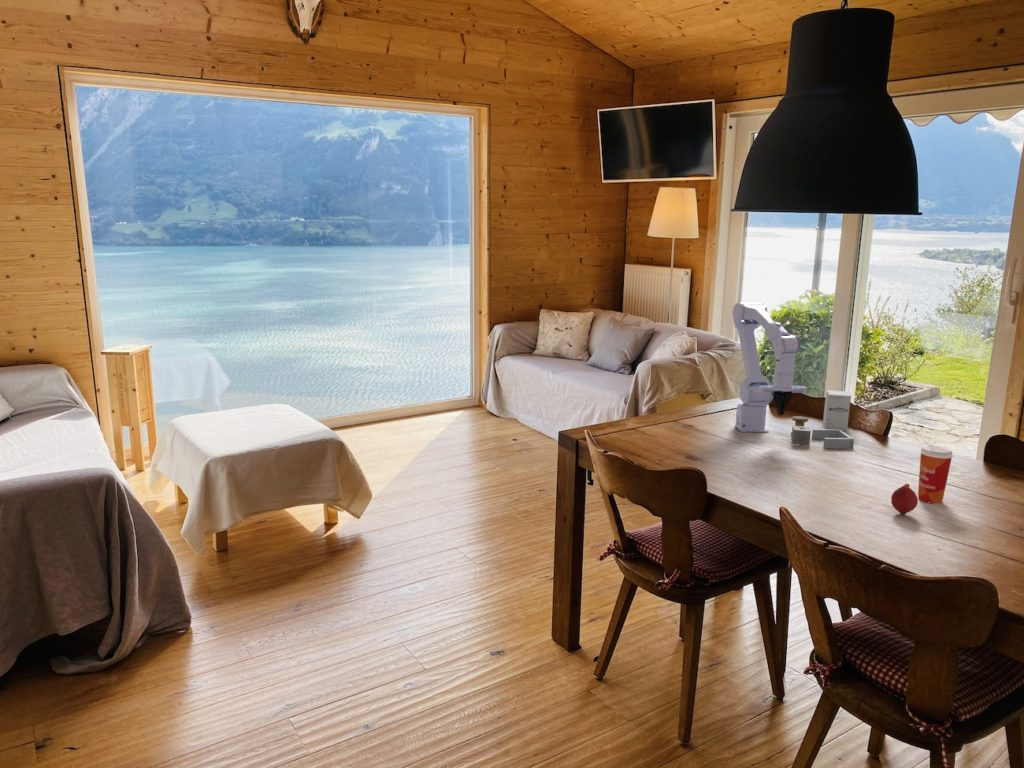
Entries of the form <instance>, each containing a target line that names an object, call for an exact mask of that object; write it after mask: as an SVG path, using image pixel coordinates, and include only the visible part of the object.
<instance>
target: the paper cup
mask: <svg viewBox="0 0 1024 768" xmlns="http://www.w3.org/2000/svg"><path fill="white" fill-rule="evenodd" d="M919 453H920V458H919V461H920V462H919V473H918V474H919V475H918V477H919V478H918V489H917V490H918V492H917V499H918V498H919V499H920V500H919V499H918V500H919V501H921V500H922V501H921V502H923V501H925V502H924V503H926V502H930V503H929V504H931V503H940V502H942V503H943V500H944V496H945V492H946V487H947V486H946V485H947V482H948V477H949V472H950V466H951V463H952V458H953V457H954V454H953V450H952V449H951V448H949V447H946V446H943V445H936V444H935V445H934V444H932V445H931V444H929V445H925V444H924V445H922V446H921V449H920V450H919ZM940 504H941V503H940Z"/></svg>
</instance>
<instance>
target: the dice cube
mask: <svg viewBox="0 0 1024 768" xmlns="http://www.w3.org/2000/svg"><path fill="white" fill-rule="evenodd" d="M791 427H792V429H791V432H792V436H791V439H790V441H791V440H792V441H791V442H792V443H793V444H799V445H798V446H806V445H809V446H810V442H811V433H812V431H811V429H810V427H809V426H804V427H803V426H795V425H792V426H791ZM793 444H792V445H793Z"/></svg>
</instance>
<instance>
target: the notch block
mask: <svg viewBox="0 0 1024 768" xmlns="http://www.w3.org/2000/svg"><path fill="white" fill-rule="evenodd" d="M811 433H812V435H811V439H812V440H813V439H814V440H819V439H820V440H821V439H823V449H853V448H854V444H855V443H854V442H855V438H853V437H851V436H850V435H849V434H847V433H846V432H845V431H842V430H840V429H825V428H821V429H820V428H812V431H811Z"/></svg>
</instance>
